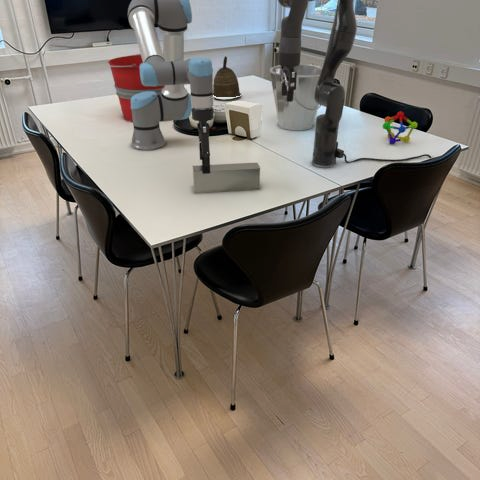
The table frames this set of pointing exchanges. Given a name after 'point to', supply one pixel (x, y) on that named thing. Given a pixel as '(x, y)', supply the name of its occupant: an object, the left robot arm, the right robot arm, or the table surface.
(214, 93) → the bell
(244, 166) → the bar
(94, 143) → the table surface
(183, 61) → the left robot arm
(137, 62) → the bucket
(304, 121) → the bucket
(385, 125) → the educational toy
